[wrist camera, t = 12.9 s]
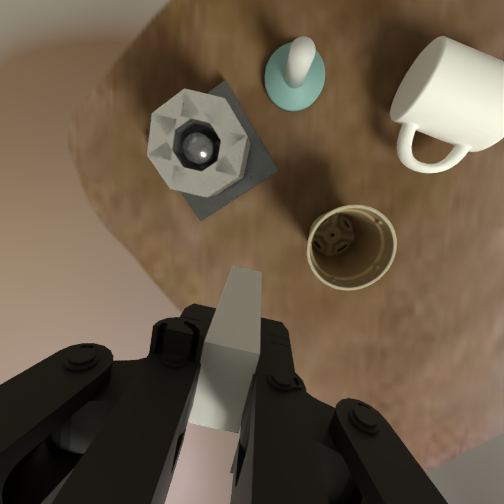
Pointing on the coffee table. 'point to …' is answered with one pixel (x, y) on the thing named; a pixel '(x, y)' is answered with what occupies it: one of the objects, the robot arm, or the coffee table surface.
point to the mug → (450, 102)
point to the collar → (195, 121)
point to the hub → (206, 153)
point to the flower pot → (351, 247)
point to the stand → (295, 75)
